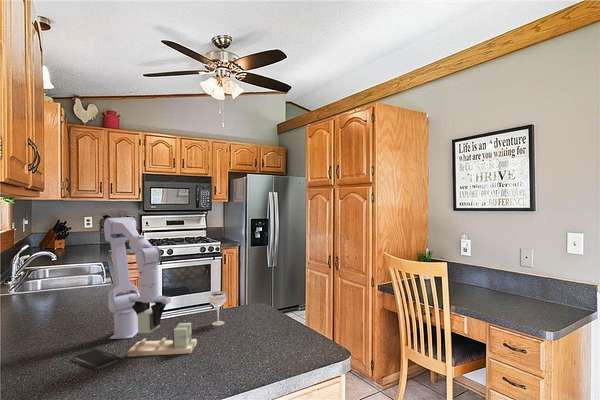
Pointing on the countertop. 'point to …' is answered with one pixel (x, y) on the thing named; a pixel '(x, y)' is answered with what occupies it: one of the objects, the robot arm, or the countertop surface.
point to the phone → (96, 359)
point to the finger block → (146, 322)
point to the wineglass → (217, 303)
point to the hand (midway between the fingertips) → (150, 324)
